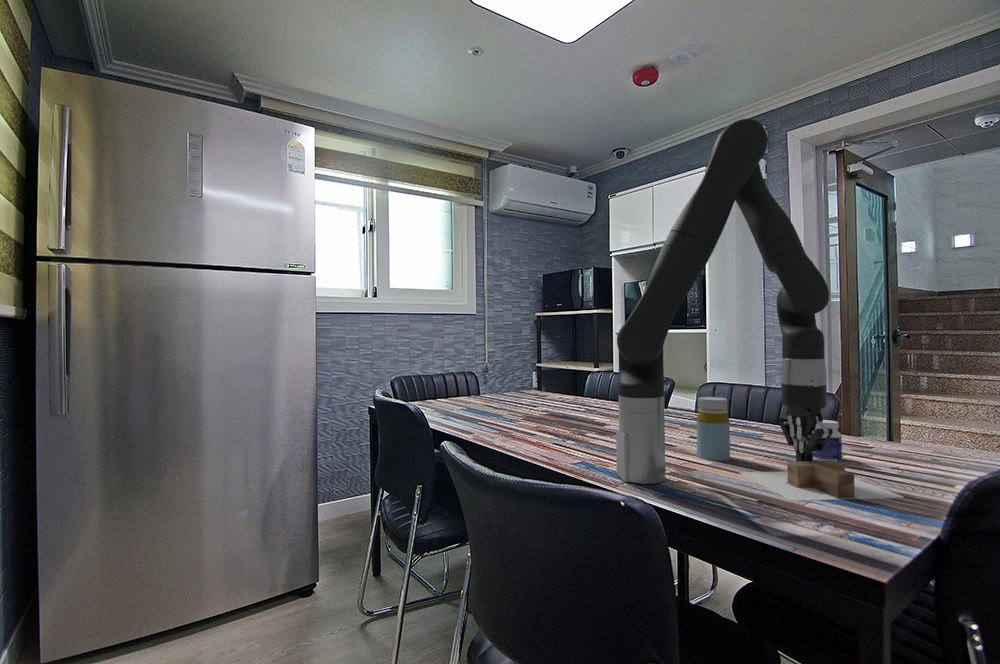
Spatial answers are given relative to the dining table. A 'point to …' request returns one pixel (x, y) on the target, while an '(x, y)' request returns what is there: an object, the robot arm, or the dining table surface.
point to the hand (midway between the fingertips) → (804, 471)
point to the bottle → (713, 429)
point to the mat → (783, 488)
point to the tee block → (822, 477)
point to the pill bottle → (831, 444)
